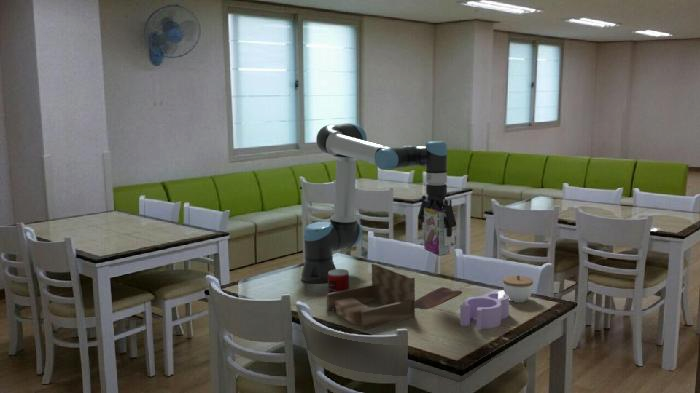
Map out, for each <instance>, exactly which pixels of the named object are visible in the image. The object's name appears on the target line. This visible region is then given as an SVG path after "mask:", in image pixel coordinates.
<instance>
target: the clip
mask: <svg viewBox="0 0 700 393" xmlns="http://www.w3.org/2000/svg"><path fill="white" fill-rule="evenodd" d="M509 305H510V300H509V296H508V295H506V294H503V297H502V298H499V292H488V293H485V294H484V295H480V296H471V297H467V298H465V299H464V300H463V302H462V304H460V306H459V307H460V308H459V310H460V315H459V316H460V320H459V325H460V326H470V324H471V319H473V318H476V330H477V331H481V330H483V329H494V328H497V327H499V326H501V324H502V320H504V319H506V318H508V317H509V315H510V314H509V312H510V306H509Z"/></svg>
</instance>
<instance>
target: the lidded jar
mask: <svg viewBox="0 0 700 393" xmlns="http://www.w3.org/2000/svg"><path fill="white" fill-rule="evenodd" d="M502 282H503V292H504V295H508V296H509V299H510V300H511V302H512V301H514V302H513V303H525V302H527V300H528V299H529V298H530V297H531V295H532V294H533V293H532V292H533V287H534V280H533V279H532V278H531V277H527V276H524V275H519V274H517V275H508V276H506V277H504V278H503V281H502ZM510 300H509V301H510ZM524 301H525V302H524Z"/></svg>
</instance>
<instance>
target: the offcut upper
mask: <svg viewBox="0 0 700 393" xmlns="http://www.w3.org/2000/svg"><path fill="white" fill-rule="evenodd" d="M335 308H336V309H338V310H339V311H341V312H342V313H344V314H345V315H347V316H348V317H350V318H351V319H353V320H355V319H360V318H361V311H363V310H367V309H371V308H370V307H369V306H367V305H366V304H365V303H360V302H359V301H357V300H355V299H354V298H349V299H344V300H339V301H335ZM336 309H335V310H336Z"/></svg>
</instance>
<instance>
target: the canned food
mask: <svg viewBox="0 0 700 393" xmlns="http://www.w3.org/2000/svg"><path fill="white" fill-rule="evenodd" d="M349 273H350V272H349V270H347V269H343V268H336V269H334V270H331V271H329V272H328V282H327V288H328V290H327V291H328V293H332V292H337V291H342V290H347V289H350V286H349V285H350V280H349V279H350V278H349V277H350V275H349Z"/></svg>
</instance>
